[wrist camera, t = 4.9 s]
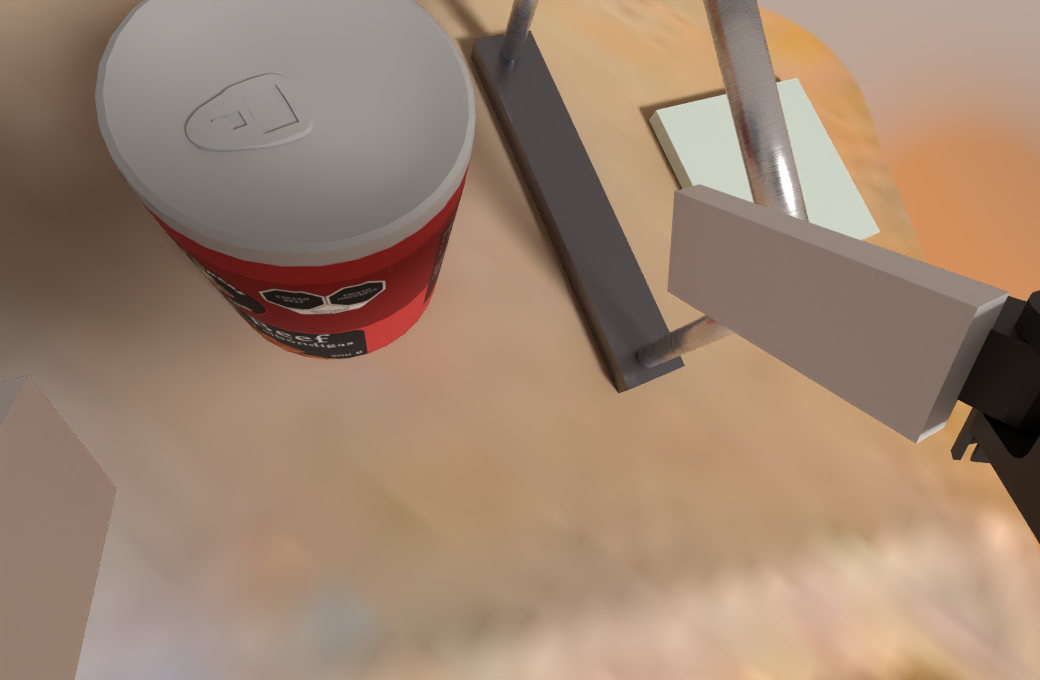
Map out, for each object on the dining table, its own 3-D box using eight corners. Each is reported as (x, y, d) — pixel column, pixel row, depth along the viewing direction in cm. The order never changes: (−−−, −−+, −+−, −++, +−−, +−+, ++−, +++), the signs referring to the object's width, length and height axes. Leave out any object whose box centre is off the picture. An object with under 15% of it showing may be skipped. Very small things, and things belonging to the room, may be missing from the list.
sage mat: (731, 290, 26) (741, 284, 26) (648, 119, 28) (656, 110, 27) (867, 238, 30) (880, 231, 29) (787, 87, 31) (797, 77, 30)
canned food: (189, 272, 20) (-7, 64, 10) (344, 155, 23) (313, -102, 13) (335, 406, 21) (287, 335, 10) (471, 274, 23) (542, 113, 13)
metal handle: (617, 393, 24) (869, 304, 11) (470, 58, 26) (547, -311, 14) (671, 370, 25) (955, 265, 12) (524, 49, 27) (639, -305, 15)
